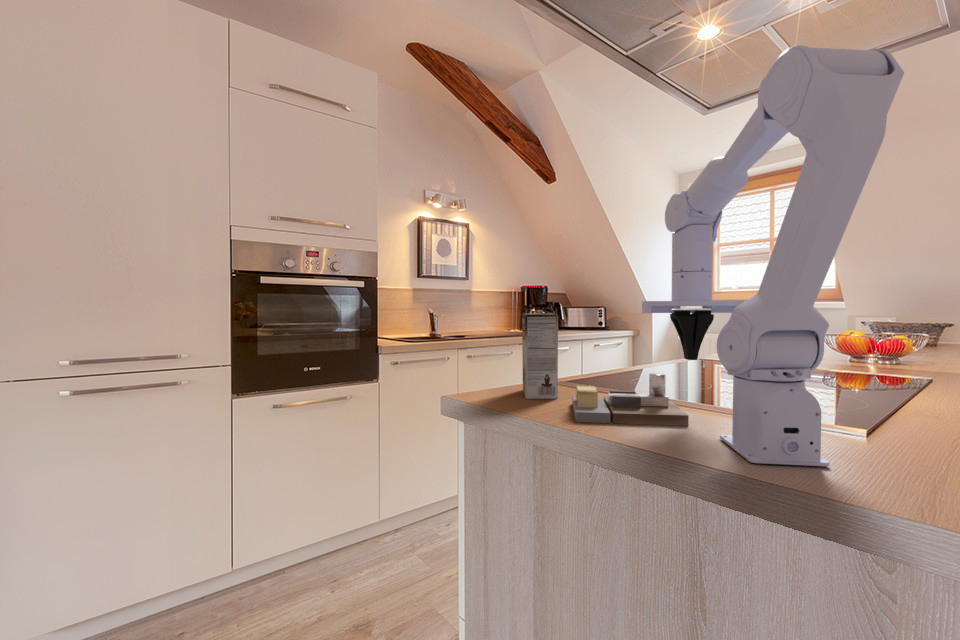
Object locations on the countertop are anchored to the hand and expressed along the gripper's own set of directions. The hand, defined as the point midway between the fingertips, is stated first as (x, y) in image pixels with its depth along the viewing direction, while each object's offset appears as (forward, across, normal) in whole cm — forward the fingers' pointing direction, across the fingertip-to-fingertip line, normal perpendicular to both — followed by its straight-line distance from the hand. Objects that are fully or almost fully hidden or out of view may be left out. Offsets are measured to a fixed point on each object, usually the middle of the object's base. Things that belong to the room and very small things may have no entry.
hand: (690, 359), depth 70 cm
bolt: (+7, +8, 0) cm, 11 cm away
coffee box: (+9, +24, -14) cm, 29 cm away
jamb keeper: (+9, +16, 0) cm, 18 cm away
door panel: (+9, +7, 0) cm, 12 cm away
